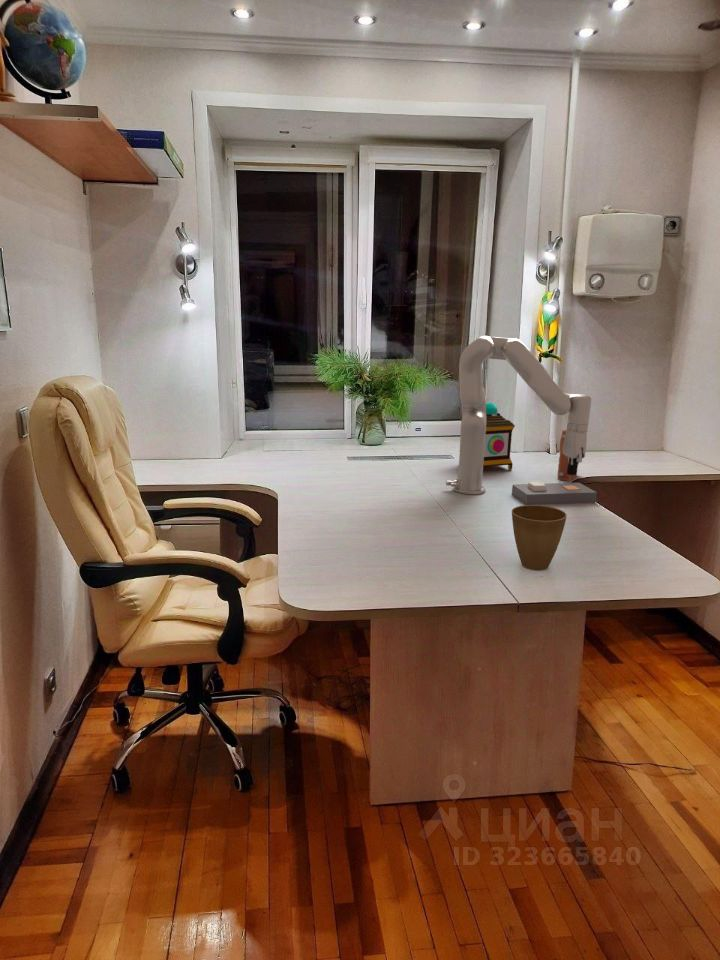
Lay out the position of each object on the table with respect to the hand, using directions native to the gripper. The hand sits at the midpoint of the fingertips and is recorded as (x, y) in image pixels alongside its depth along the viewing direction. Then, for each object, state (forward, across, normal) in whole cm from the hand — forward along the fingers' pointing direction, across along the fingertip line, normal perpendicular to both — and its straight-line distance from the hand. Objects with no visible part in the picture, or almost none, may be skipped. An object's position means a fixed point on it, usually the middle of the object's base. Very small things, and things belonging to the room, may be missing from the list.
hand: (571, 474), depth 252 cm
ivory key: (+7, 0, -14) cm, 15 cm away
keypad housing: (+10, 0, -7) cm, 12 cm away
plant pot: (+10, +63, -43) cm, 77 cm away
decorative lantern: (+10, -50, -16) cm, 53 cm away
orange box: (+10, -30, +14) cm, 34 cm away
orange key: (+8, 0, 0) cm, 8 cm away
